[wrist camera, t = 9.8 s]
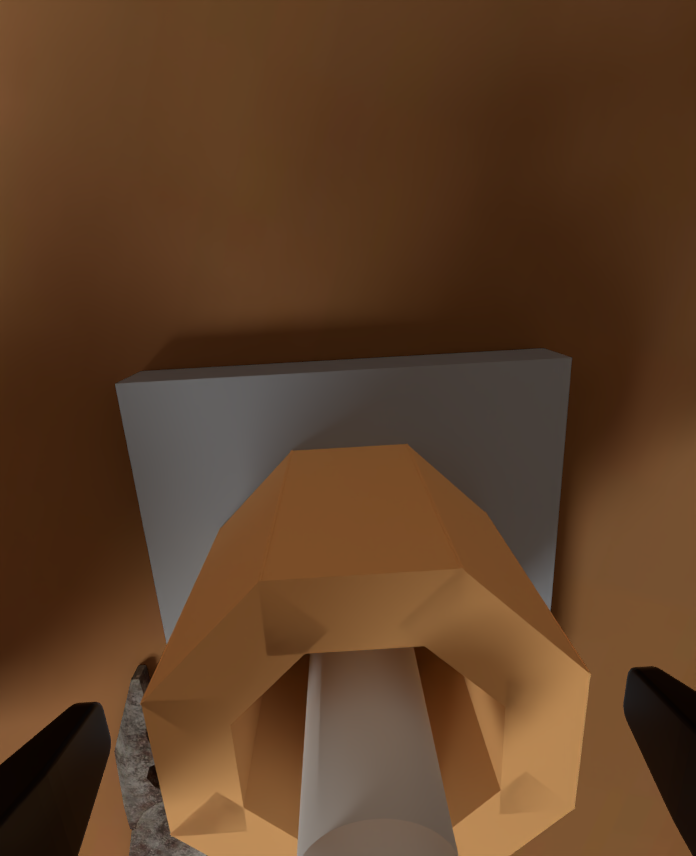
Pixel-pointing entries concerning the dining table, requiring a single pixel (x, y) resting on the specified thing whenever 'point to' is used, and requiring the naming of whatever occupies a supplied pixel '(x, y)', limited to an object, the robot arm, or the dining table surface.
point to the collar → (363, 630)
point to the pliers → (143, 781)
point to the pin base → (339, 428)
